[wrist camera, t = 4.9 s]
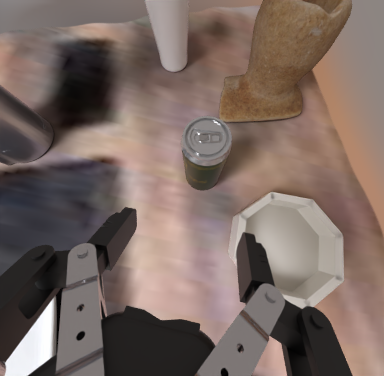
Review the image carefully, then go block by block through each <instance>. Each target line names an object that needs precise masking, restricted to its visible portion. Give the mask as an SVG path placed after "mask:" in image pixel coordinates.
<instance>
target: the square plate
mask: <svg viewBox="0 0 384 376" xmlns="http://www.w3.org/2000/svg"><path fill="white" fill-rule="evenodd" d="M56 329H57V308H56V295H55V297H54V298H53V299H52V301H51V302H50V303H49V305H48V306H47V307H46V309H45V310H44V311H43V313H42V314H41V315H40V317H39V318H38V320H37V321H36V322H35V324H34V325H33V326H32V328H31V329H30V330H29V332H28V333H27V334H26V336H25V337H24V338H23V340H22V341H21V342H20V344H19V345H18V346H17V348H16V349H15V350H14V352H13V353H12V354H11V356H10V357H9V358H8V360H7V361H6V362H5V365H6V373H5V376H28V375H29V374H30V373H32V372H33V371H34V370H35V369H37V368H38V367H39V366H41V365H42V364H43V363H45V362H46V361H47V360H49V359H50V358H51V357H53V356H54V355H55V354H56Z"/></svg>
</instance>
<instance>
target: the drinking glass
mask: <svg viewBox="0 0 384 376" xmlns="http://www.w3.org/2000/svg"><path fill="white" fill-rule="evenodd" d="M144 1H145V5H146V8H147V11H148V15H149V19H150V22H151V26H152V29H153V33H154V37H155V40H156V44H157V47H158V51H159V55H160V60H161V64H162V66H163V67H164V68H165V69H166V70H168V71H171V72H177V71H180V70H182V69H183V68H184V67H185V66H186V64H187V60H188V58H187V43H188V18H189V0H144Z"/></svg>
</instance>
